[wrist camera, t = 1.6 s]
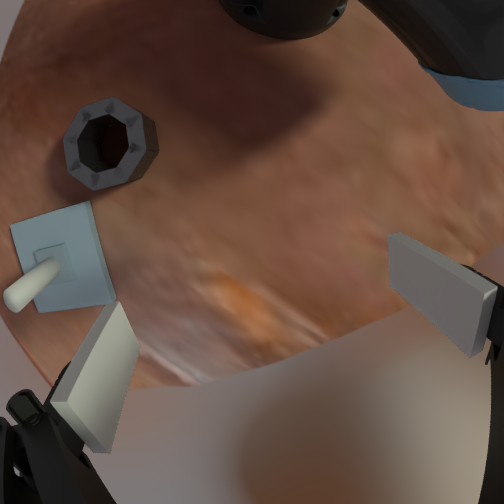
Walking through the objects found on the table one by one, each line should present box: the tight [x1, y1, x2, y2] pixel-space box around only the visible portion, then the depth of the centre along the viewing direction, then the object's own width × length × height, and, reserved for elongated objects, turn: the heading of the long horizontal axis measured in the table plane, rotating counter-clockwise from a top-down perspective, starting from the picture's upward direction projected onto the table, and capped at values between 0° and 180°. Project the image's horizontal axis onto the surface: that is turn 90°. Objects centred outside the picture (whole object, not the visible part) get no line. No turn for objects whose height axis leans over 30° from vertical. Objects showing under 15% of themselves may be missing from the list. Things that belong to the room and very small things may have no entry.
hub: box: [63, 97, 159, 191], centre depth 25 cm, size 8×8×6 cm
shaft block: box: [3, 200, 117, 313], centre depth 25 cm, size 12×12×12 cm
